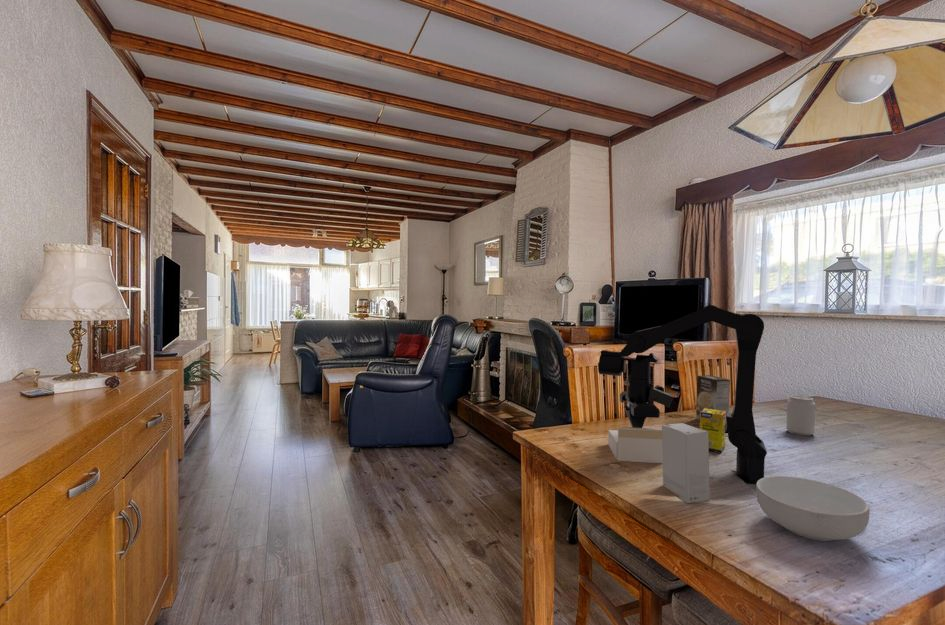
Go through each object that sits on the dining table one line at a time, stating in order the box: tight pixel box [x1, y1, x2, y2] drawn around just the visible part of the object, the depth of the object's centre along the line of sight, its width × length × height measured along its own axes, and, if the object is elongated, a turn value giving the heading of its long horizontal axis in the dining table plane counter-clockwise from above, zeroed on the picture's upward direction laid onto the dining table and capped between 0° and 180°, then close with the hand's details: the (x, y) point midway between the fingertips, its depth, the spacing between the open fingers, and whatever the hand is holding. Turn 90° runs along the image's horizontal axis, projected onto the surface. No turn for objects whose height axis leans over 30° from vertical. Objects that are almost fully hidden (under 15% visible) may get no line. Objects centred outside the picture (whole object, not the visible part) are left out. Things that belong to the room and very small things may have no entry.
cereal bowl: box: [755, 475, 870, 542], centre depth 81 cm, size 17×17×7 cm
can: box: [785, 394, 817, 437], centre depth 144 cm, size 8×8×12 cm
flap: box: [616, 426, 663, 464], centre depth 113 cm, size 1×12×9 cm, turn 83°
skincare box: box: [661, 422, 710, 504], centre depth 96 cm, size 8×6×15 cm
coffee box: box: [695, 374, 731, 424], centre depth 156 cm, size 9×6×16 cm
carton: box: [607, 429, 618, 460], centre depth 120 cm, size 12×12×5 cm
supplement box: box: [699, 408, 726, 454], centre depth 127 cm, size 6×6×11 cm
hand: (637, 435), depth 118 cm, fingers closed
